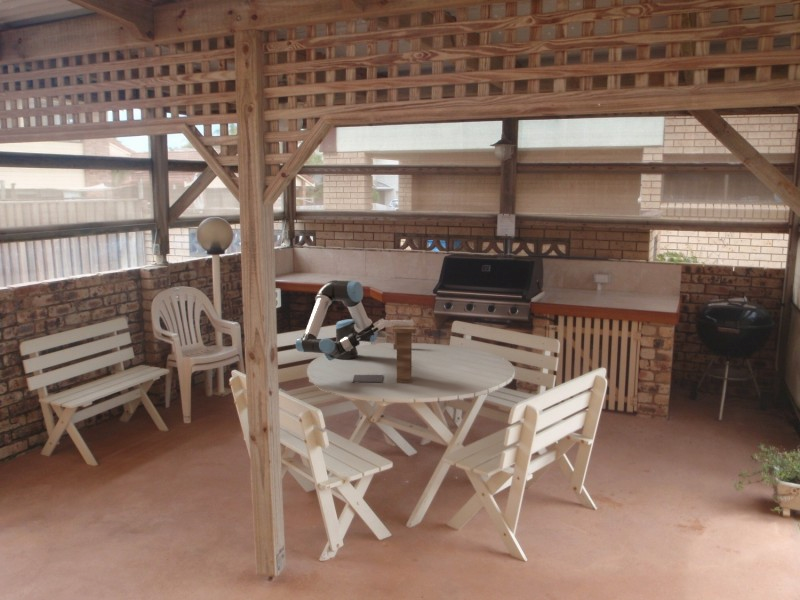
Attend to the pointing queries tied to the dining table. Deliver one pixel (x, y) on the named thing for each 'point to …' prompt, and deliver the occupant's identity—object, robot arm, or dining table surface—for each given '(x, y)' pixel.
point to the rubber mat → (368, 378)
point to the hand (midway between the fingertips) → (383, 322)
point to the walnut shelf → (404, 352)
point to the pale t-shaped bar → (396, 323)
